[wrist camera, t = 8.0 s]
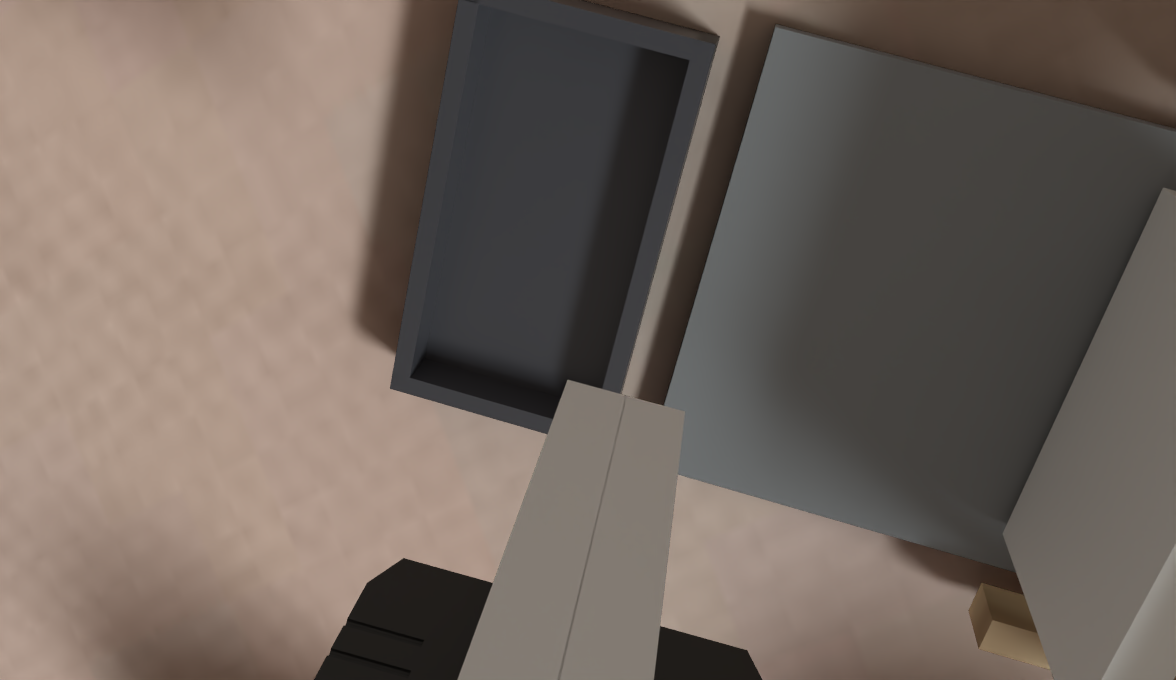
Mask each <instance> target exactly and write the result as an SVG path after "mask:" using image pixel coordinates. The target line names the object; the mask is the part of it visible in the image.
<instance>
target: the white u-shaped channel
mask: <svg viewBox="0 0 1176 680" xmlns="http://www.w3.org/2000/svg"><path fill="white" fill-rule="evenodd" d="M1003 536H1004V539H1005V542H1006V545H1007V548H1008V551H1009V553H1010V556H1011V559H1012V562H1013V565H1014V568H1015V570H1016V573H1017V576H1018V579H1019V582H1020V585H1021V587H1022V590H1023V593H1024V596H1025V599H1026V602H1027V604H1028V607H1029V610H1030V613H1031V616H1032V619H1033V621H1034V624H1035V627H1036V630H1037V633H1038V636H1039V638H1040V641H1041V644H1042V647H1043V650H1044V653H1045V655H1046V658H1047V661H1048V664H1049V667H1050V670H1051V672H1052V675H1053V678H1054V680H1174V678H1175V676H1176V191H1174V190H1170V189H1167V188H1163V189H1162V191H1161V193H1160V195H1159V197H1158V200H1157V202H1156V204H1155V206H1154V208H1153V210H1152V213H1151V215H1150V217H1149V219H1148V221H1147V223H1146V226H1145V228H1144V230H1143V232H1142V234H1141V236H1140V238H1139V241H1138V243H1137V245H1136V247H1135V249H1134V251H1133V254H1132V256H1131V258H1130V260H1129V262H1128V264H1127V266H1126V269H1125V271H1124V273H1123V275H1122V277H1121V279H1120V282H1119V284H1118V286H1117V288H1116V290H1115V292H1114V294H1113V297H1112V299H1111V301H1110V303H1109V305H1108V307H1107V310H1106V312H1105V314H1104V316H1103V318H1102V320H1101V322H1100V325H1099V327H1098V329H1097V331H1096V333H1095V335H1094V338H1093V340H1092V342H1091V344H1090V346H1089V348H1088V350H1087V353H1086V355H1085V357H1084V359H1083V361H1082V363H1081V366H1080V368H1079V370H1078V372H1077V374H1076V376H1075V379H1074V381H1073V383H1072V385H1071V387H1070V389H1069V391H1068V394H1067V396H1066V398H1065V400H1064V402H1063V404H1062V407H1061V409H1060V411H1059V413H1058V415H1057V417H1056V419H1055V422H1054V424H1053V426H1052V428H1051V430H1050V432H1049V435H1048V437H1047V439H1046V441H1045V443H1044V445H1043V447H1042V450H1041V452H1040V454H1039V456H1038V458H1037V460H1036V463H1035V465H1034V467H1033V469H1032V471H1031V473H1030V475H1029V478H1028V480H1027V482H1026V484H1025V486H1024V488H1023V491H1022V493H1021V495H1020V497H1019V499H1018V501H1017V504H1016V506H1015V508H1014V510H1013V512H1012V514H1011V516H1010V519H1009V521H1008V523H1007V525H1006V527H1005V529H1004V532H1003Z"/></svg>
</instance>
